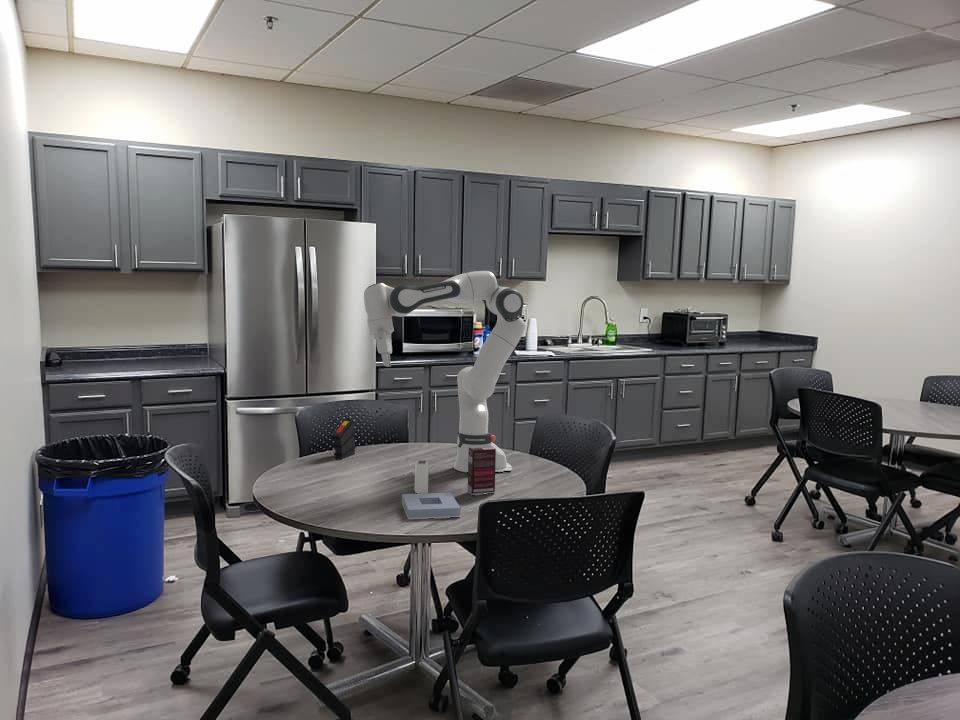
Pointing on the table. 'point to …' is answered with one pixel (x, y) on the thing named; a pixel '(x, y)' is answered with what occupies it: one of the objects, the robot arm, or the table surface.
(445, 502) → the blue-gray square socket base
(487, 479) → the supplement box
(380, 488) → the table surface
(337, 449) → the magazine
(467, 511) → the table surface
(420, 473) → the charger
